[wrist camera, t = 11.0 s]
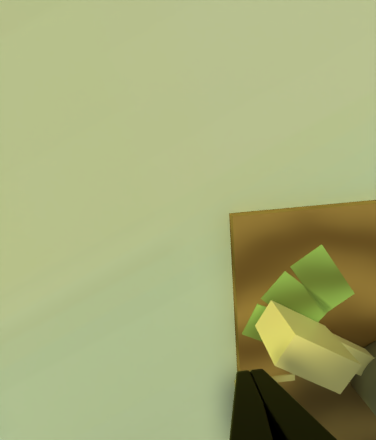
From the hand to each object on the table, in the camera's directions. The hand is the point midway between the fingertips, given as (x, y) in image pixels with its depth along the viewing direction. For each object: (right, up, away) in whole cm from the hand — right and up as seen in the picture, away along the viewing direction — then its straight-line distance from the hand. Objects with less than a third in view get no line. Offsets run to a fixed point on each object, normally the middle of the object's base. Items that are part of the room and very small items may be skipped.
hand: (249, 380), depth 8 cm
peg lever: (+10, -5, +12) cm, 17 cm away
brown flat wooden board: (+12, -4, +14) cm, 19 cm away
